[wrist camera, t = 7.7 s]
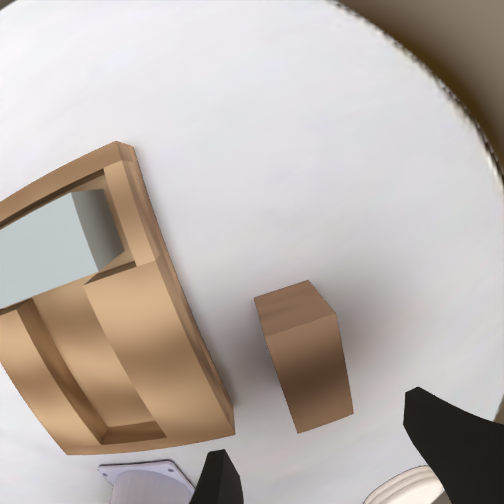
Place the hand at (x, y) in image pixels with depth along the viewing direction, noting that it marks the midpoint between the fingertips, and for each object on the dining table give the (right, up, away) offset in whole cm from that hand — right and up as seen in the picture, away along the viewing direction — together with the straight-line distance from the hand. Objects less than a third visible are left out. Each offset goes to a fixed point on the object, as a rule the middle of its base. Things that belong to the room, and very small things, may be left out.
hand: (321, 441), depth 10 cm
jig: (-13, +3, +8) cm, 16 cm away
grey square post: (-15, +7, +6) cm, 17 cm away
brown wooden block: (0, +2, +9) cm, 10 cm away
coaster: (+16, -22, +17) cm, 32 cm away
